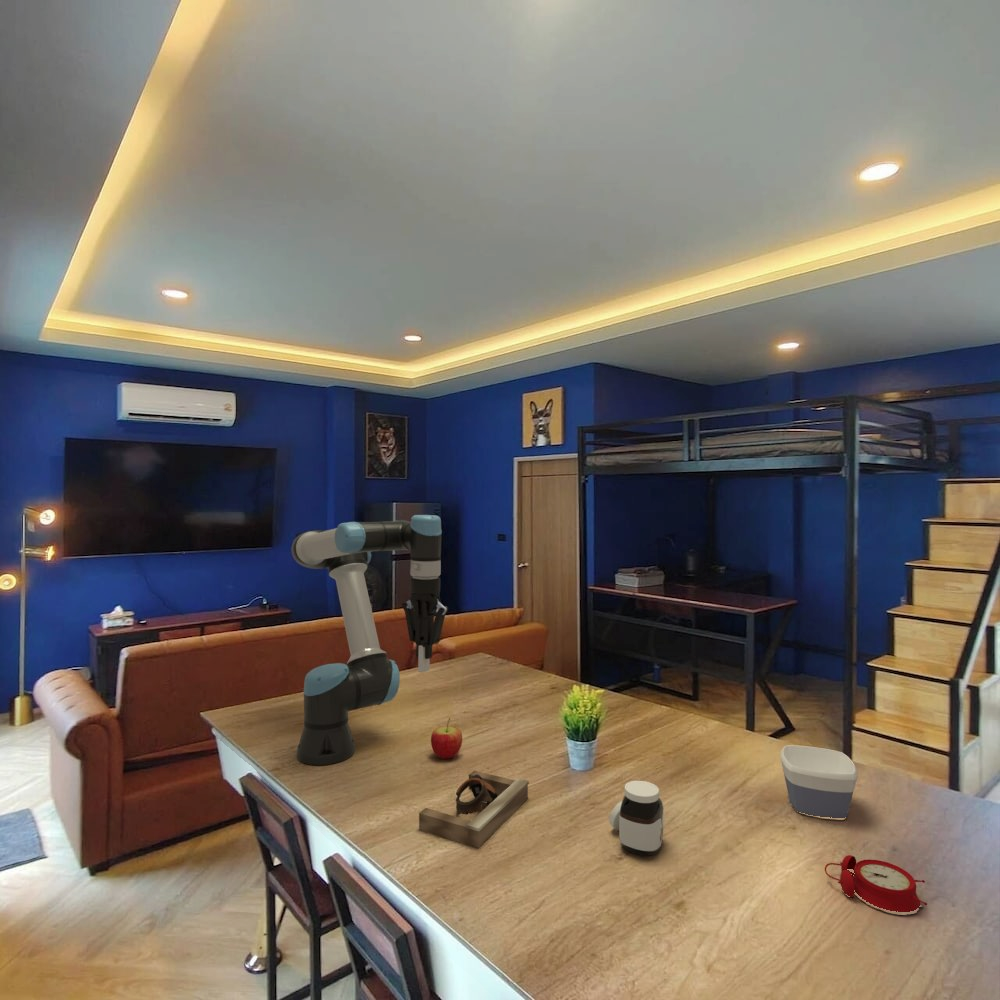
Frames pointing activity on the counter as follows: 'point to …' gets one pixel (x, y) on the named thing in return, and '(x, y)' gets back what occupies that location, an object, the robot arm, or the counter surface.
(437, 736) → the apple
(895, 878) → the alarm clock
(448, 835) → the walnut pocket
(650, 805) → the spread jar
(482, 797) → the brown broken pot
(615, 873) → the counter surface
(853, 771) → the bowl
